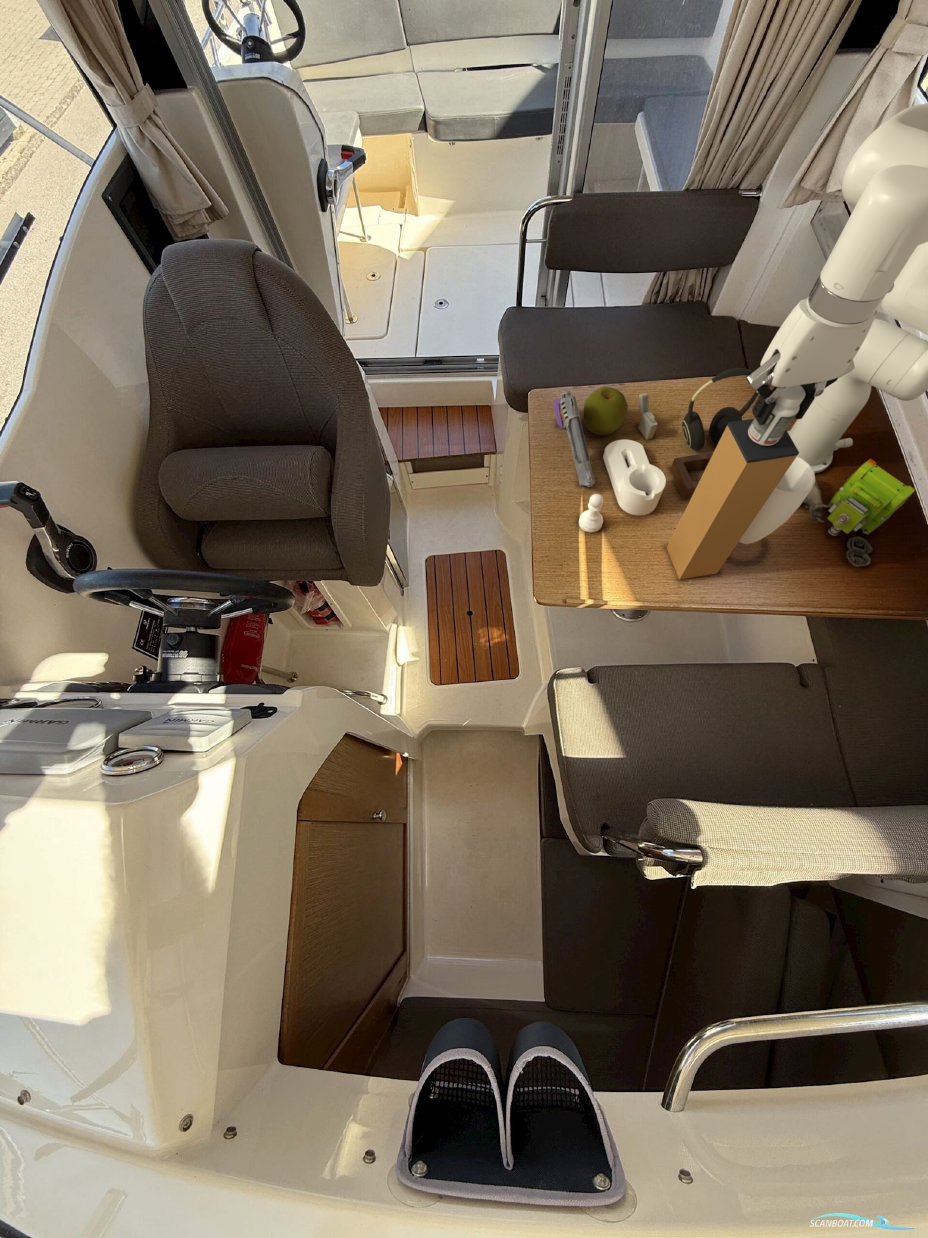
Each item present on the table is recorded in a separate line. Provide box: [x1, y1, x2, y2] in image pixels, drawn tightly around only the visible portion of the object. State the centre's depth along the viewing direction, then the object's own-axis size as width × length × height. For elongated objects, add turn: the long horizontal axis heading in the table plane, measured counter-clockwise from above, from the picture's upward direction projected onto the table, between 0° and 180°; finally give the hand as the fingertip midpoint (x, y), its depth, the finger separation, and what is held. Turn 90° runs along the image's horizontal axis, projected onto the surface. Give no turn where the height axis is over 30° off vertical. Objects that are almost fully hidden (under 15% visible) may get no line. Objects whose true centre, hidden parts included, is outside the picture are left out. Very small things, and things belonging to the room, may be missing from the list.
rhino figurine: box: [802, 479, 830, 524], centre depth 121 cm, size 4×14×6 cm, turn 7°
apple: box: [582, 386, 629, 436], centre depth 131 cm, size 10×10×11 cm
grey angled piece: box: [638, 392, 659, 441], centre depth 132 cm, size 7×2×8 cm, turn 22°
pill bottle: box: [748, 385, 805, 446], centre depth 83 cm, size 5×5×8 cm
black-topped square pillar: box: [666, 418, 799, 580], centre depth 103 cm, size 8×8×35 cm
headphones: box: [681, 367, 760, 451], centre depth 124 cm, size 9×15×20 cm, turn 98°
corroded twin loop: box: [845, 535, 874, 568], centre depth 117 cm, size 5×8×1 cm, turn 156°
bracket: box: [602, 439, 667, 516], centre depth 125 cm, size 20×9×7 cm, turn 8°
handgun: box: [552, 390, 596, 488], centre depth 130 cm, size 3×22×15 cm
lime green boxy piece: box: [827, 458, 916, 537], centre depth 115 cm, size 13×16×14 cm
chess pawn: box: [578, 493, 604, 533], centre depth 119 cm, size 5×5×9 cm
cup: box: [738, 457, 816, 545], centre depth 110 cm, size 10×10×22 cm
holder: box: [669, 451, 714, 500], centre depth 126 cm, size 9×9×4 cm
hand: (776, 414), depth 83 cm, fingers closed on pill bottle, 4 cm apart
